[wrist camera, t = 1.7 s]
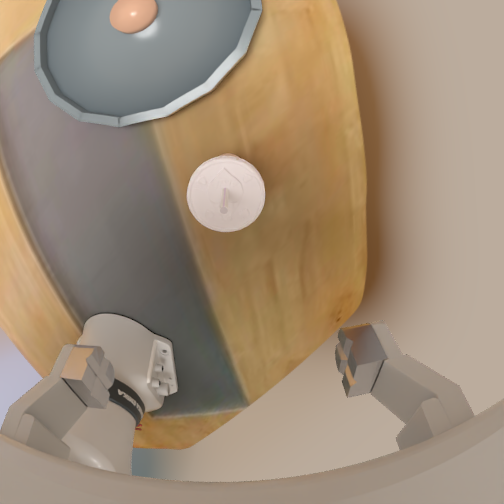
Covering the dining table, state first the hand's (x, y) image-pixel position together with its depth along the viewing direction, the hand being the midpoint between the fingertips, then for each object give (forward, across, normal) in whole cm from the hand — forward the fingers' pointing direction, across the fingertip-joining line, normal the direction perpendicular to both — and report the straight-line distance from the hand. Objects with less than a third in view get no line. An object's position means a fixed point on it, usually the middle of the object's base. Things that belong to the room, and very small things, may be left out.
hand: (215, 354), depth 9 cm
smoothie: (+26, 0, 0) cm, 26 cm away
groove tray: (+25, +8, -20) cm, 33 cm away
